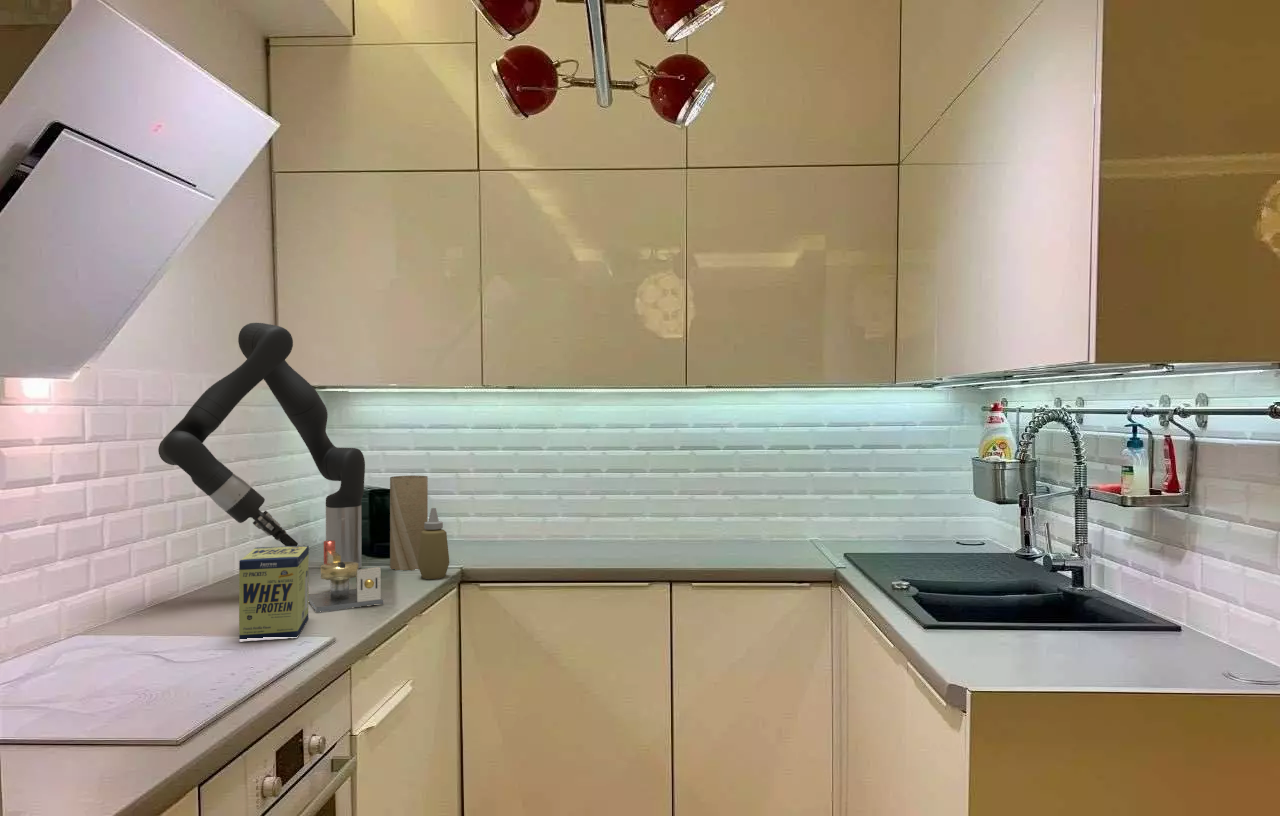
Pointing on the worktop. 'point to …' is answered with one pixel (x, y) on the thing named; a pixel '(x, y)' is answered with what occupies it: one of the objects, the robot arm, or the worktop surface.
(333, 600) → the stand
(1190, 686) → the worktop surface
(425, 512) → the tube
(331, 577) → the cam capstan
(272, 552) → the protein box
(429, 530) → the squeeze bottle
